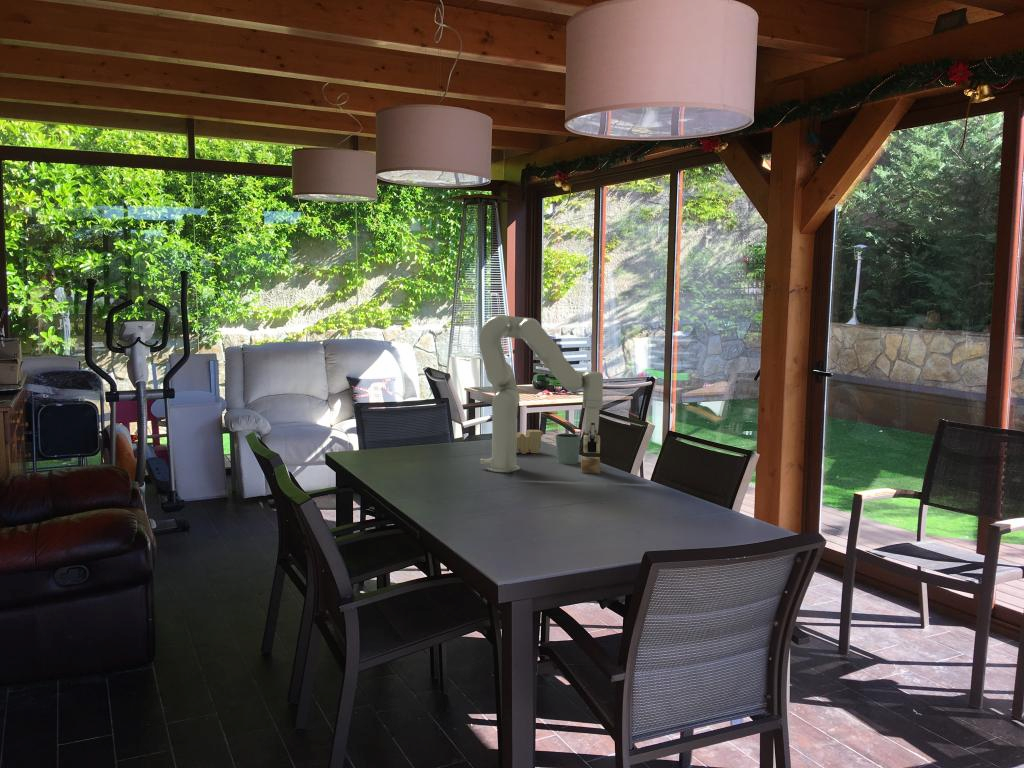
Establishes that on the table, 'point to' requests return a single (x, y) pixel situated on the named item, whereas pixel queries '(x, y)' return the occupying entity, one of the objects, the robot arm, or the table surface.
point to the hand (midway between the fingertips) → (591, 450)
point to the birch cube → (586, 440)
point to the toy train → (529, 441)
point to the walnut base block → (590, 465)
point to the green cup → (568, 448)
